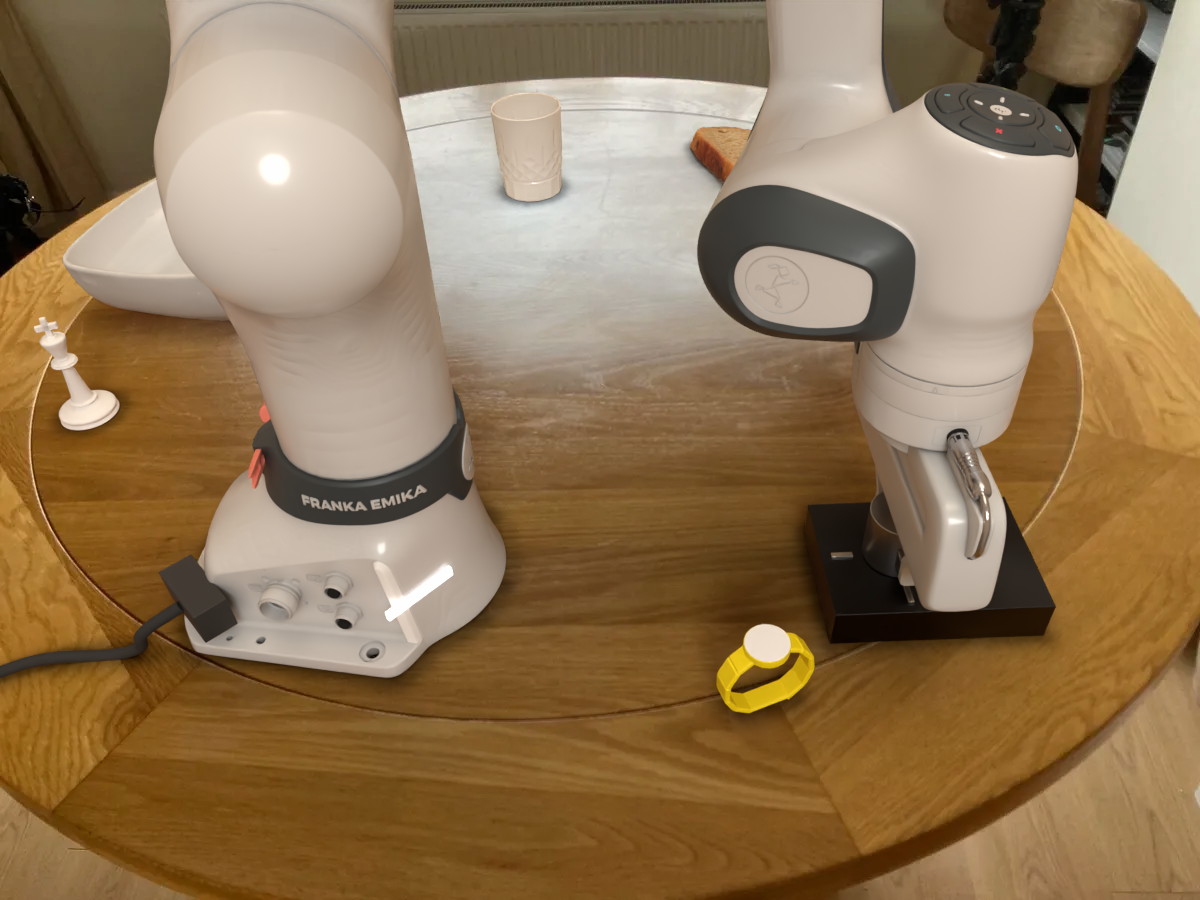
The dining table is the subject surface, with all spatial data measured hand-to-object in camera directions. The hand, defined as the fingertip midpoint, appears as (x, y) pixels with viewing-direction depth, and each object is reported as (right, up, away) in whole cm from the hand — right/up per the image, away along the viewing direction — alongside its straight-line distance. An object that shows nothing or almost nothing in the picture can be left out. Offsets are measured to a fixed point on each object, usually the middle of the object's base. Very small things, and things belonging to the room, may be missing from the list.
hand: (898, 543), depth 64 cm
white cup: (-28, +37, +49) cm, 68 cm away
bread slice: (-2, +39, +50) cm, 63 cm away
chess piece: (-65, +9, +21) cm, 69 cm away
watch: (-10, -10, -4) cm, 14 cm away
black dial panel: (+2, -3, +3) cm, 4 cm away
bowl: (-61, +24, +37) cm, 75 cm away
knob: (0, -1, +1) cm, 1 cm away
